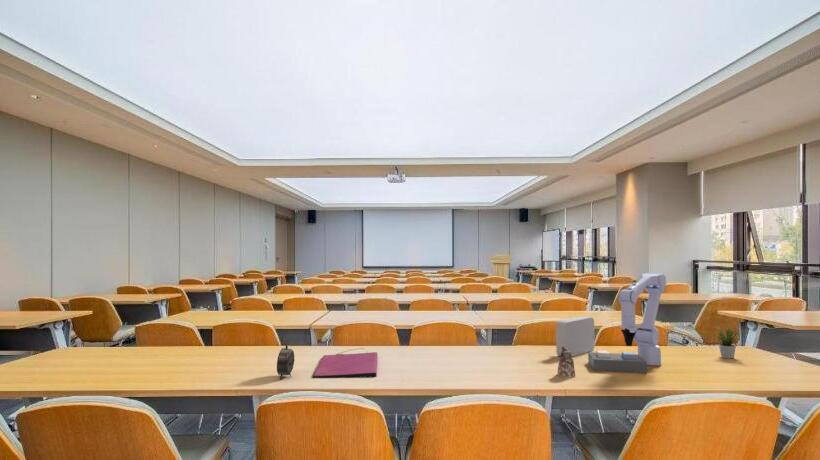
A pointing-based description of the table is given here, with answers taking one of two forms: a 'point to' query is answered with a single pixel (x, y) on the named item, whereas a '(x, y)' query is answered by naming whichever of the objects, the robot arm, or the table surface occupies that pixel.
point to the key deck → (617, 363)
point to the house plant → (727, 343)
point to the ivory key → (603, 354)
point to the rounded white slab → (575, 335)
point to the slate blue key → (628, 355)
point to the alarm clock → (285, 361)
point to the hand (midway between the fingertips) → (628, 345)
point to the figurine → (566, 364)
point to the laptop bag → (347, 365)
